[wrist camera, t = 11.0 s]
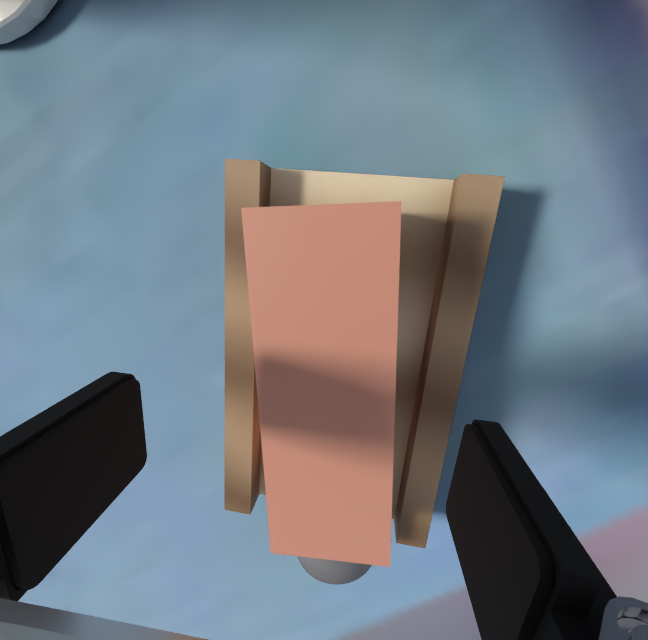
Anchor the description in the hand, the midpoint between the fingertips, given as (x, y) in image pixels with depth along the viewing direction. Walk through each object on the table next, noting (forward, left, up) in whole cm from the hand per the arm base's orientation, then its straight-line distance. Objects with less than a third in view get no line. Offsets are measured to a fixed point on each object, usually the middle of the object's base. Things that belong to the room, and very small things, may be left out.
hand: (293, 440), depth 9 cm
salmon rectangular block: (0, +1, -8) cm, 8 cm away
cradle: (+1, +1, -9) cm, 9 cm away
